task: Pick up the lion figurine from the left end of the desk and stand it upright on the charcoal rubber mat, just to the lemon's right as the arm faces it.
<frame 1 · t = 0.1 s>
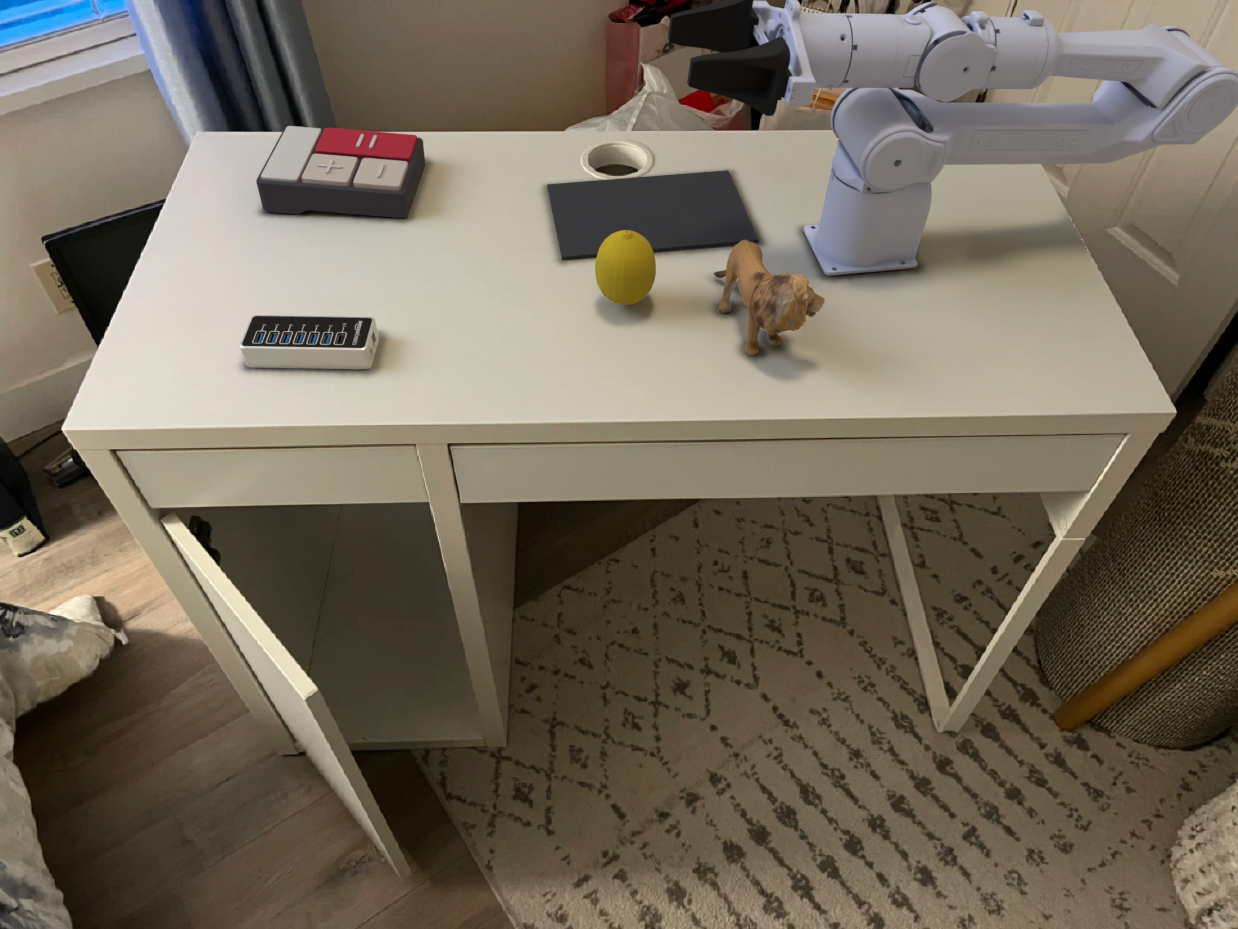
hand: (679, 49, 76), 22 cm above the table, tool horizontal, fingers open, 7 cm apart
lemon: (624, 305, 89), on the table
multiport hub: (314, 353, 84), on the table
lion figurine: (756, 327, 87), on the table
desk mat: (649, 214, 98), on the table
button control box: (348, 188, 101), on the table
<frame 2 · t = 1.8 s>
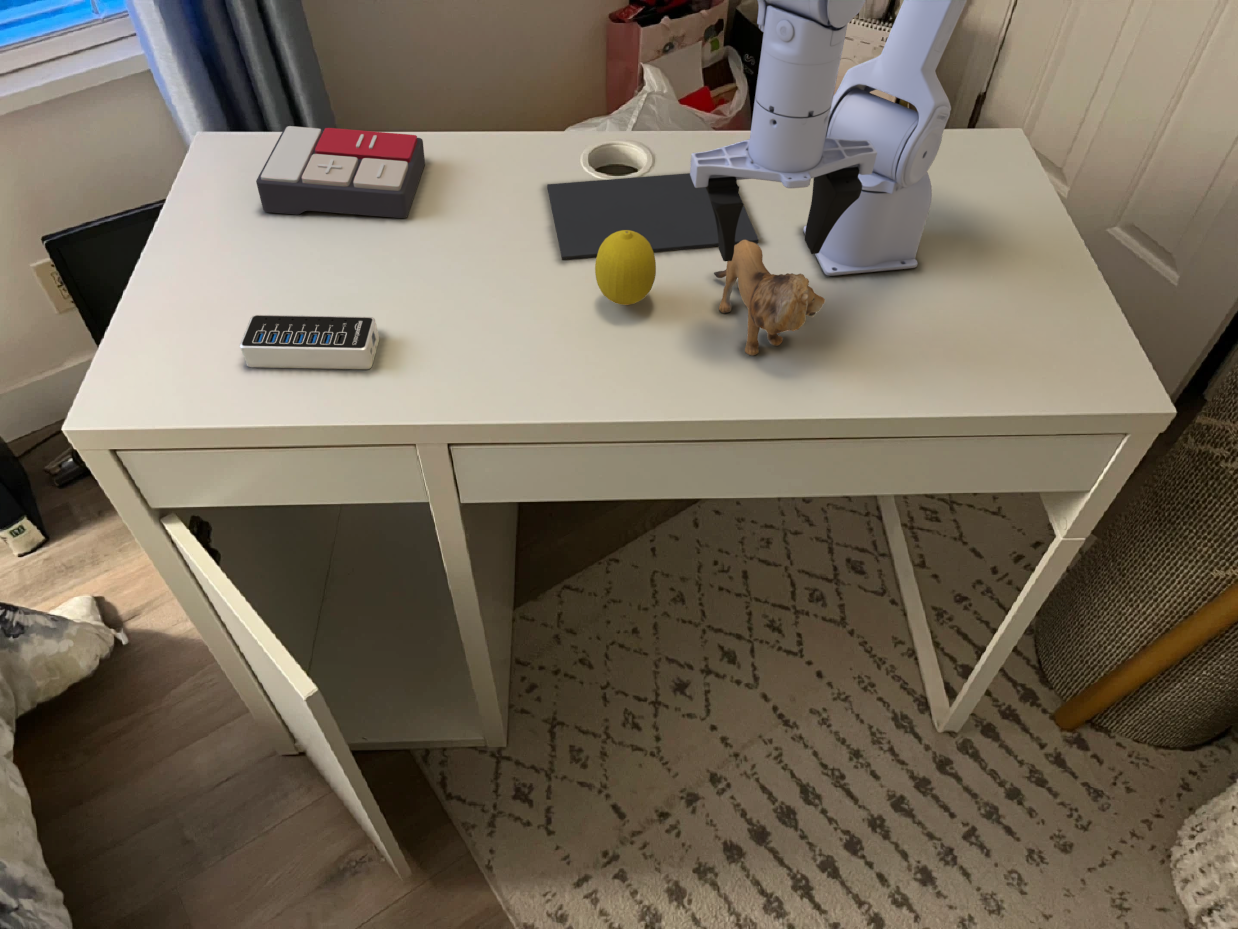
hand: (768, 250, 80), 8 cm above the table, tool pointing down, fingers open, 7 cm apart
nothing on the table moved.
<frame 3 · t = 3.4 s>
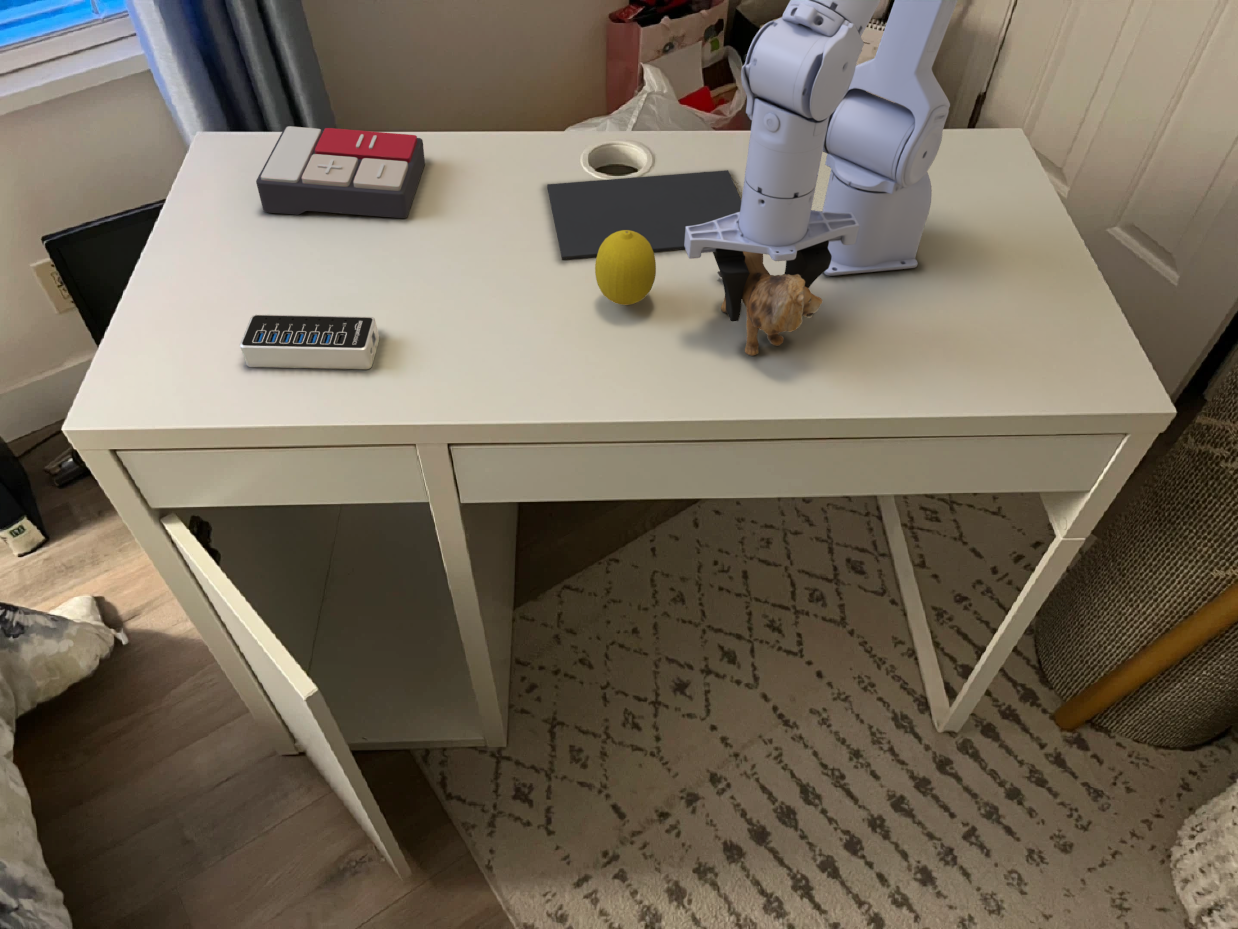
hand: (758, 311, 85), 2 cm above the table, tool pointing down, fingers closed on lion figurine, 4 cm apart
lion figurine: (757, 327, 87), on the table, touching gripper
everything else where it was.
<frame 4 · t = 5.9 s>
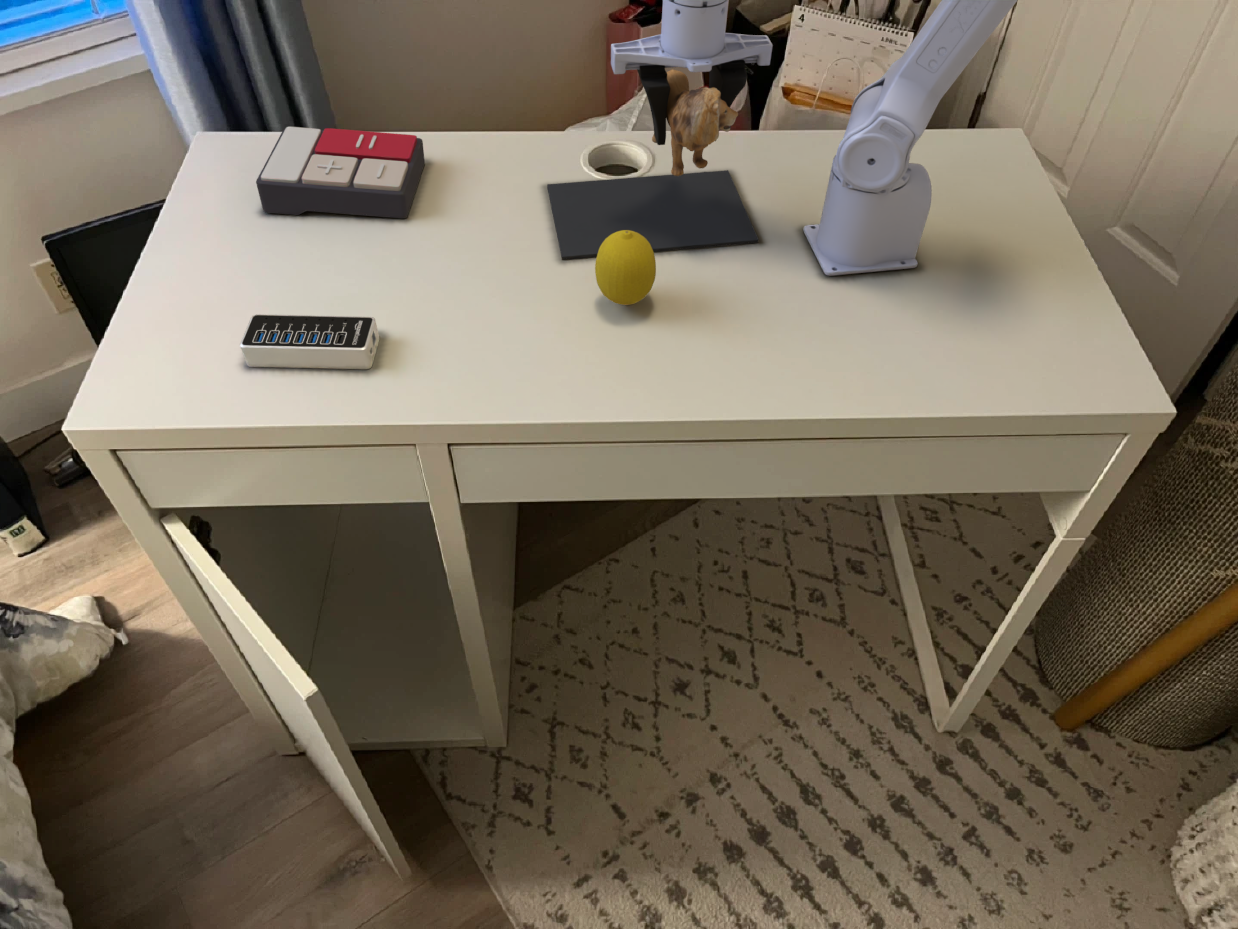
hand: (684, 137, 92), 9 cm above the table, tool pointing down, fingers closed on lion figurine, 4 cm apart
lion figurine: (685, 155, 93), point 7 cm above the table, touching gripper
everything else where it was.
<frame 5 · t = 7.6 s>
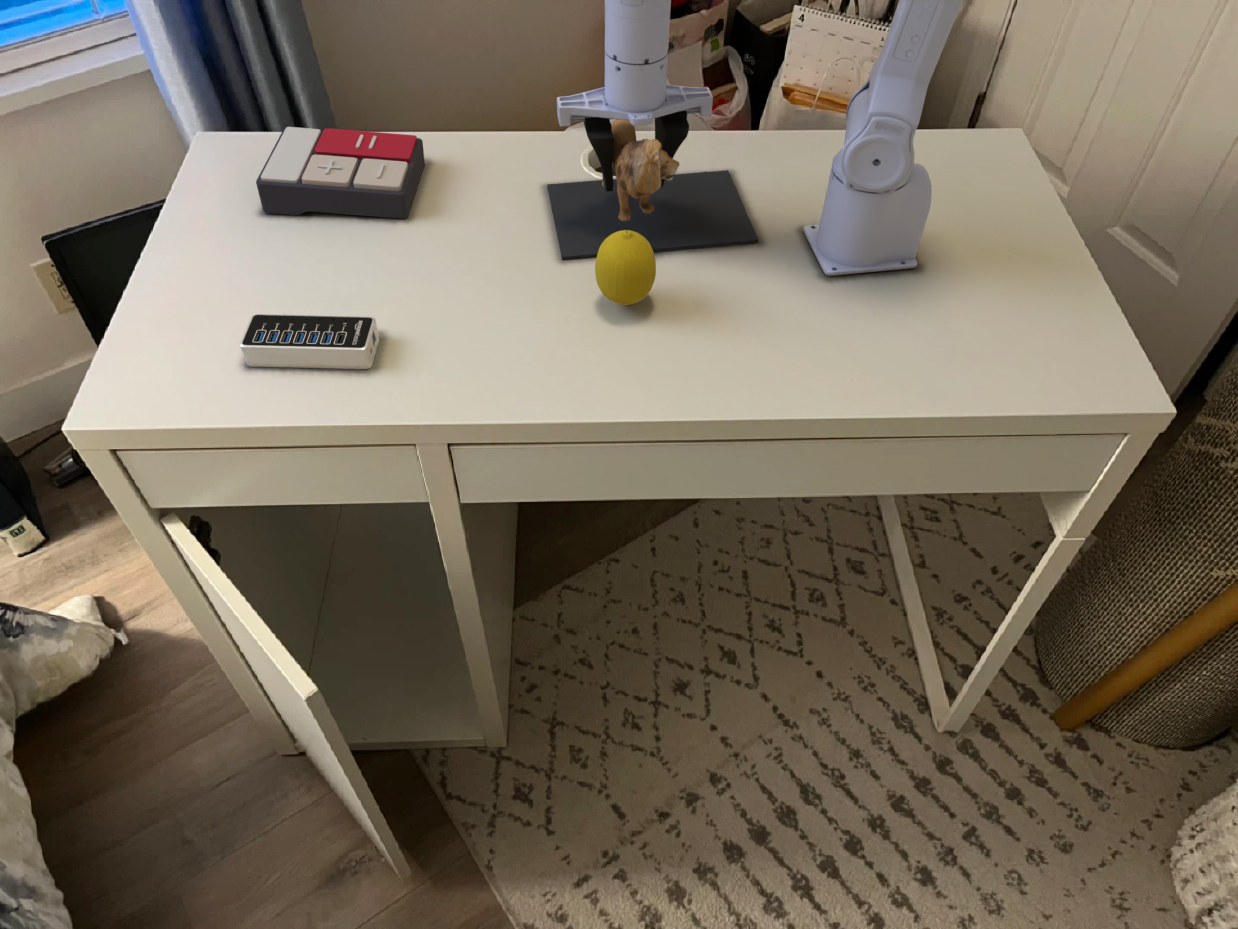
hand: (632, 183, 95), 4 cm above the table, tool pointing down, fingers closed on lion figurine, 4 cm apart
lion figurine: (633, 199, 96), point 2 cm above the table, touching gripper
everything else where it was.
when the fingers open (2 cm above the table, at t = 8.7 s): lion figurine stays where it is, resting on desk mat.
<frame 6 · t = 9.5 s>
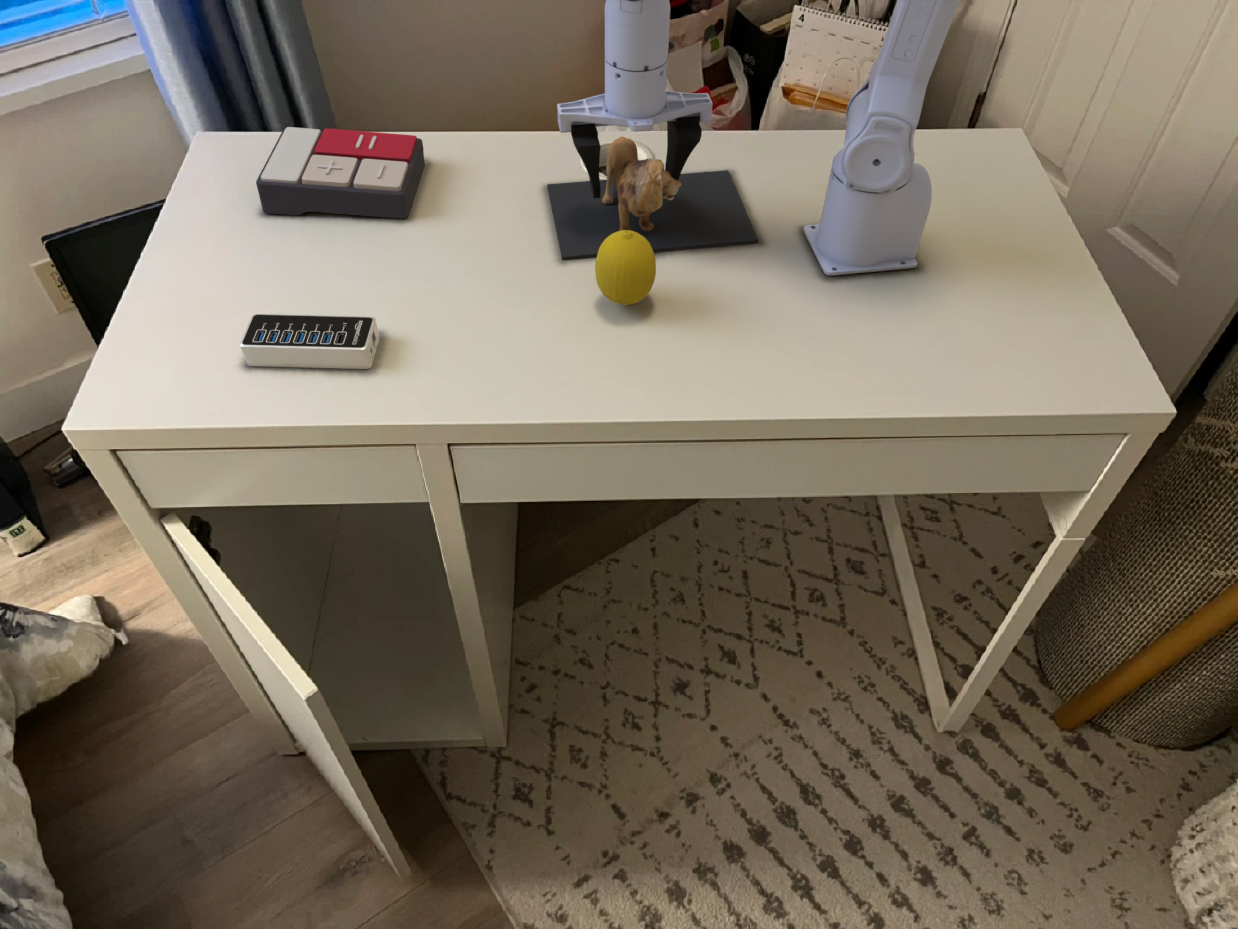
hand: (632, 189, 95), 3 cm above the table, tool pointing down, fingers open, 7 cm apart
lion figurine: (633, 217, 97), resting on desk mat
everything else where it was.
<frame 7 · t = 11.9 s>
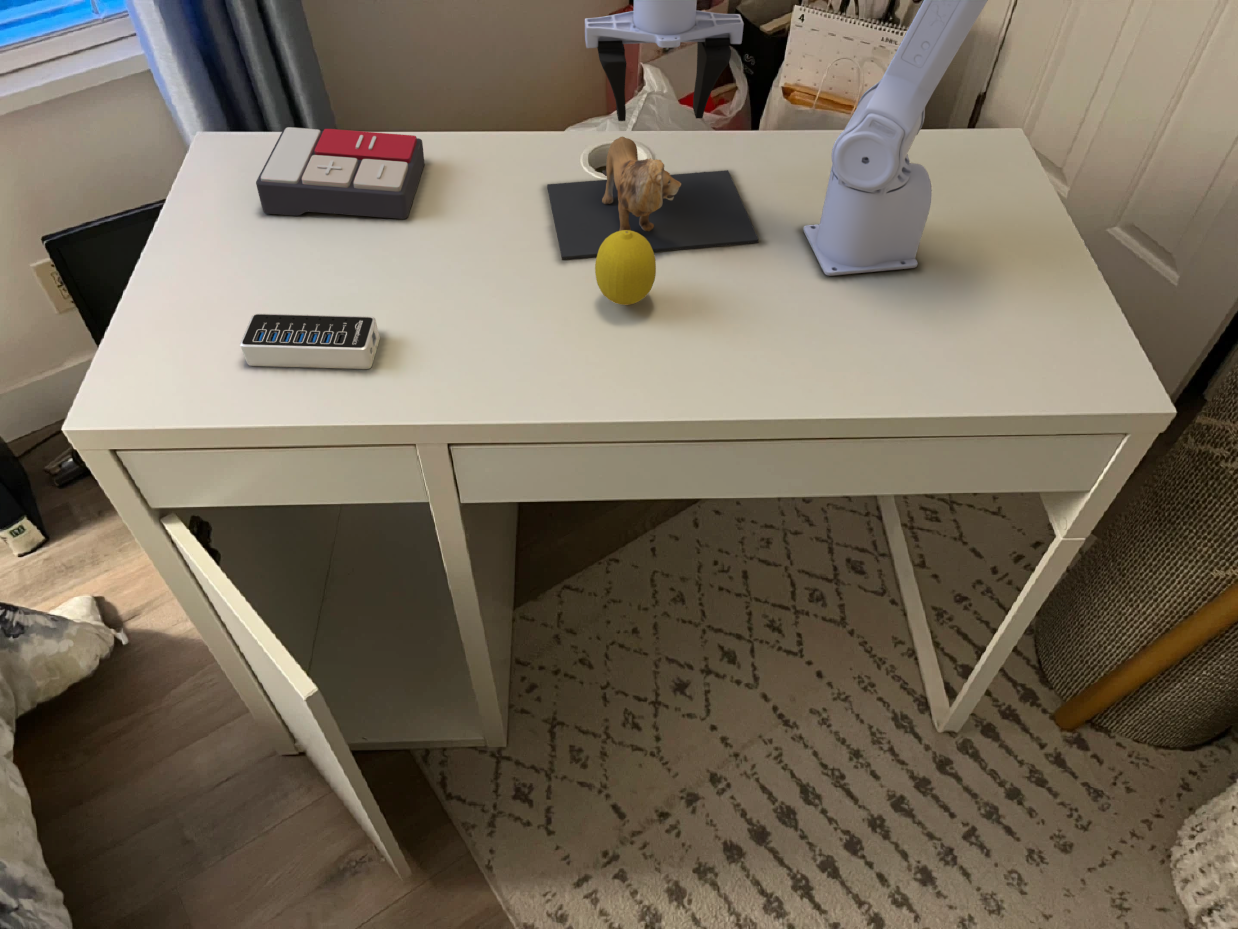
hand: (659, 114, 93), 9 cm above the table, tool pointing down, fingers open, 7 cm apart
nothing on the table moved.
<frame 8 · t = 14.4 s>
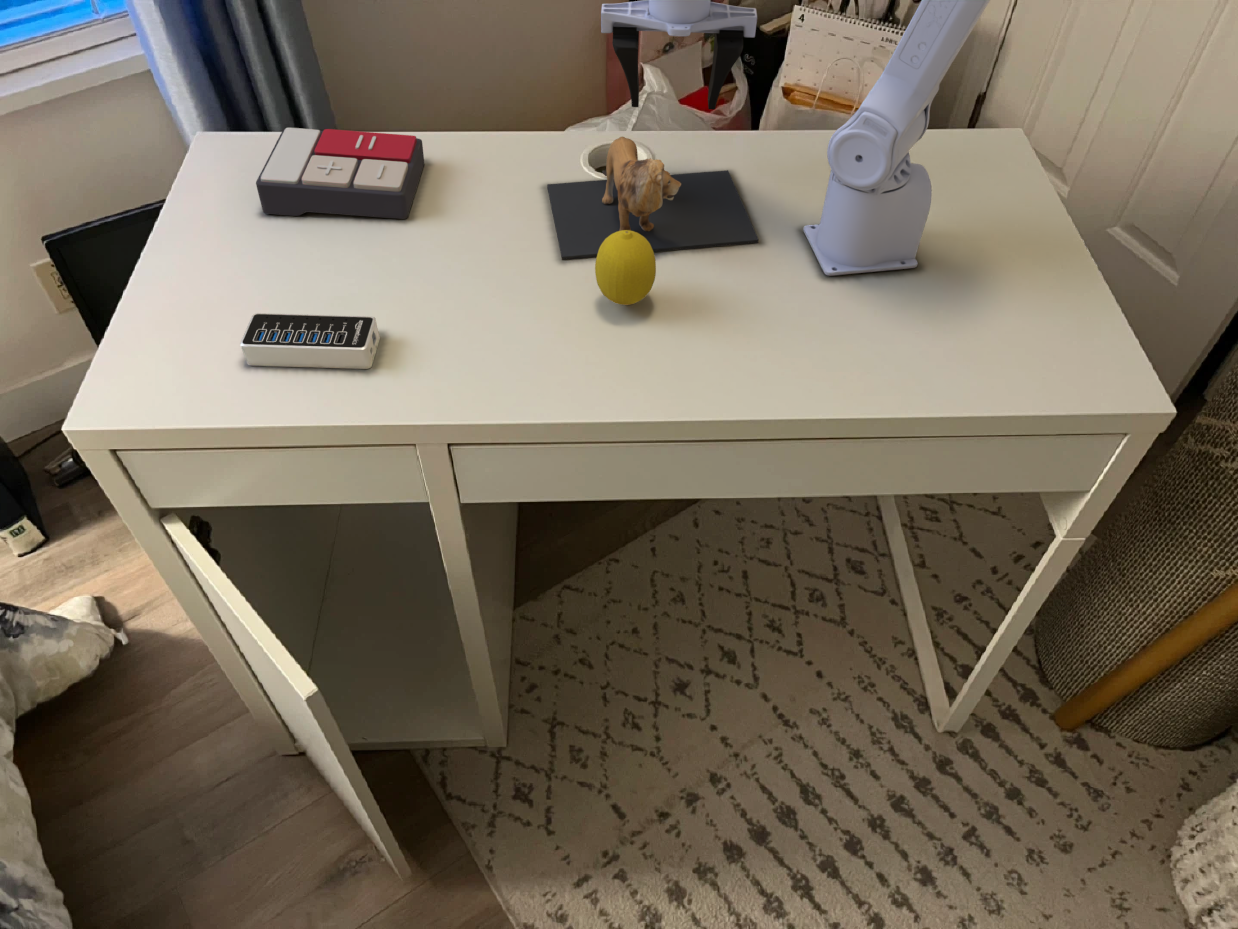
hand: (673, 103, 95), 9 cm above the table, tool pointing down, fingers open, 7 cm apart
nothing on the table moved.
at the end: lion figurine inside the target area on the table beside the lemon (2.2 cm from its centre), resting on desk mat; lion figurine inside the target area on the desk mat (1.9 cm from its centre), point 0.2 cm above the desk mat's base; lion figurine tilted 0° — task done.
